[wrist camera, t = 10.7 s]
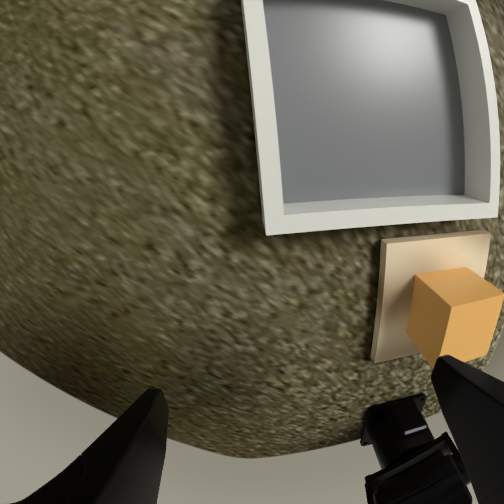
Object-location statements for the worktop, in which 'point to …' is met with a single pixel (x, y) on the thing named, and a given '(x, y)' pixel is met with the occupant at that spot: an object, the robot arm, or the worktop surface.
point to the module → (453, 314)
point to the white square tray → (371, 112)
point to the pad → (402, 281)
